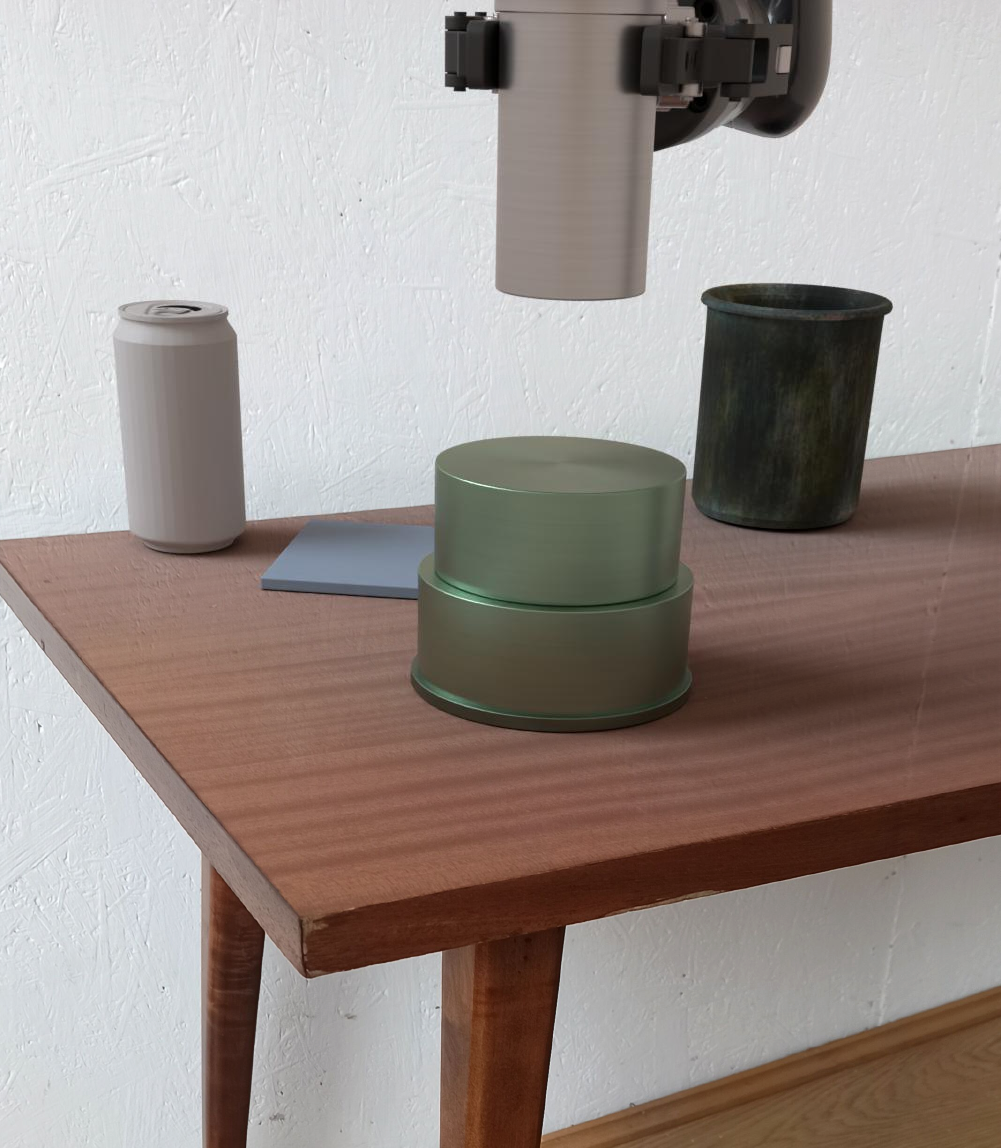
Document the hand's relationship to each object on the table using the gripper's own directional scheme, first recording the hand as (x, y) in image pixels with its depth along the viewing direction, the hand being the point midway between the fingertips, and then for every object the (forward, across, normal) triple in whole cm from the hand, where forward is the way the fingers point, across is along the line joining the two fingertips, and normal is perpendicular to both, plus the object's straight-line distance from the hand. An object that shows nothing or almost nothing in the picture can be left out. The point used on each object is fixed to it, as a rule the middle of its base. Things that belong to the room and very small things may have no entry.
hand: (562, 58), depth 63 cm
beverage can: (-17, -25, +24) cm, 39 cm away
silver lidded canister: (-2, 0, +8) cm, 8 cm away
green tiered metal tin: (-3, 0, +24) cm, 24 cm away
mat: (-17, -13, +24) cm, 32 cm away
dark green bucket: (-39, +4, +24) cm, 46 cm away
